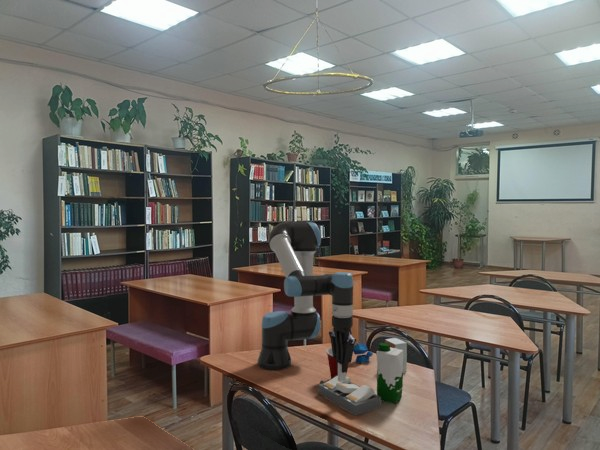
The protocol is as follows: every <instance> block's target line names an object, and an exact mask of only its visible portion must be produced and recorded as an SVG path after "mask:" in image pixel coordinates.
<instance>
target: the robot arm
mask: <svg viewBox="0 0 600 450" xmlns="http://www.w3.org/2000/svg"><path fill="white" fill-rule="evenodd" d="M267 241H268V246H269V247H270V249H271V251H272V252H274V253H275V255H276V258H277V260H278V262H279V265H280V267H281V269H282V272H283V274H284V278H285V279H284V280H283V289H284V293H285V295H286V296H287V297H293V299H294V300H293V301H294V303H293V304H294V306H293V307H292V308H291V310H290V314H288V312H287V311H285V310H276V311H270V312H268V313H266V314H264V315H263V316H262V319H261V325H260V326H261V350H260V352H259V355H258V359H257V367H259V368H260V369H262V370H268V371H281V370H285V369H288V368H289V367H291V366H292V358H291V357H292V356H291V355H290V352H289V348H288V341H299V340H310V339H314V338H316V337H318V335H319V333H320V331H321V326H322V325H321V324H322V323H321V316H320V314H319V312H317V309H316V308H315V307H314V300H313V299H314V297H315V296H331V304H332V305H331V314H332V316H331V325H332V327H333V328H332V330H331V331H328V335H329V338H330V344H331V345H330V346H331V348H332V353H333V358H334V359H336V361H337V370H338V381H340V382H342V381H345V380H346V376H347V374H346V372H347V373H348V370H347V363H352V361H353V360H352V359H353V354H354V352H353V350H354V345H356V343H357V337H353V334H352V330H351V329H352V327H353V325H354V318H353V315H354V302H353V301H354V278H353V274H352V273H351V272H347V271H346V272H345V271H337V272H334V273H324V274H319V275H314V254H316V253H317V248H319V247H320V246H321V243H322V234H321V231H320V228H319V226H318V225H317V223H315V222H311V221H291V222H290V221H283V222H280V223H278V224H277V225H275V226H274V227H272V229H271V230H270V232H269V235H268V240H267Z"/></svg>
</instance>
